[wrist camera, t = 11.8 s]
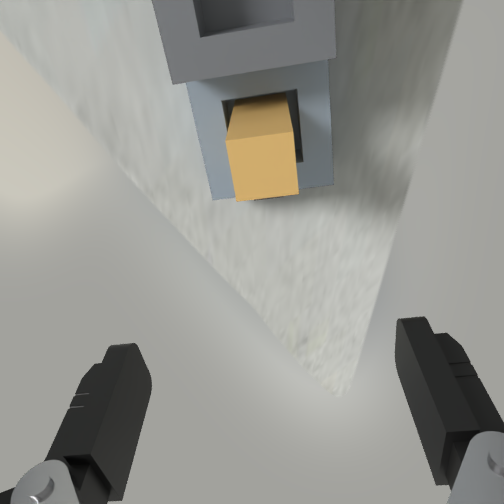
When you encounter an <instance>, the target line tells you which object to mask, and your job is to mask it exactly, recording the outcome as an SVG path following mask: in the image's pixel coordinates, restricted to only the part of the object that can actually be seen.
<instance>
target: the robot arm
mask: <svg viewBox="0 0 504 504" xmlns="http://www.w3.org/2000/svg"><path fill="white" fill-rule="evenodd" d="M395 362H396V368H397V372H398V376H399V378H400V382H401V384H402V387H403V390H404V393H405V396H406V399H407V402H408V405H409V408H410V410H411V414H412V417H413V419H414V422H415V425H416V428H417V431H418V434H419V437H420V440H421V443H422V446H423V449H424V452H425V454H426V457H427V460H428V463H429V466H430V469H431V472H432V475H433V478H434V481H435V484H436V485H449V486H450V489H451V494H450V497H449V499H448V502H447V504H504V422H503V421H502V419H501V417H500V415H499V413H498V411H497V410H496V408H495V406H494V404H493V402H492V401H491V398H490V397H489V395H488V393H487V391H486V389H485V387H484V386H483V384H482V382H481V380H480V378H478V376H477V373H476V371H475V369H474V367H473V366H472V365H471V363H470V360H469V358H468V356H467V354H466V353H465V351H464V349H463V347H462V346H461V345H460V344H459V343H458V342H457V341H456V340H455V339H453V338H452V337H451V336H450V335H449V334H448V333H440V334H434V333H433V331H432V329H431V327H430V324H429V322H428V320H427V319H426V318H425V317H412V318H403V319H398V320H397V326H396V343H395ZM151 390H152V382H151V375H150V373H149V370H148V368H147V366H146V364H145V362H144V359H143V357H142V355H141V352H140V350H139V348H138V346H137V345H136V344H135V343H130V344H120V345H111V346H110V347H109V348H108V350H107V352H106V354H105V356H104V359H103V361H102V363H98V364H94V365H93V366H92V367H91V369H90V370H89V371H88V372H87V373H86V374H85V375H84V377H83V378H82V380H81V382H80V384H79V386H78V389H77V391H76V393H75V394H76V395H75V396H74V397H73V400H72V402H71V404H70V409H68V411H67V413H66V415H65V417H64V419H63V422H62V424H61V426H60V428H59V430H58V433H57V435H56V437H55V439H54V441H53V444H52V446H51V448H50V450H49V452H48V455H47V457H46V459H45V460H44V462H42V463H40V464H38V465H36V466H35V467H33V468H31V469H30V470H29V471H28V472H27V473H26V474H25V475H24V476H23V477H22V478H21V479H20V480H19V482H18V483H17V485H16V487H14V488H12V489H9V490H7V491H4V492H2V493H0V504H107V502H108V501H122V499H123V495H124V492H125V488H126V484H127V481H128V477H129V473H130V469H131V465H132V462H133V458H134V455H135V451H136V447H137V444H138V439H139V436H140V432H141V429H142V425H143V421H144V418H145V414H146V410H147V407H148V403H149V399H150V395H151Z"/></svg>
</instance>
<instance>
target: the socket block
mask: <svg viewBox="0 0 504 504" xmlns="http://www.w3.org/2000/svg"><path fill="white" fill-rule="evenodd" d="M152 3H153V7H154V11H155V15H156V19H157V23H158V27H159V31H160V35H161V39H162V43H163V47H164V51H165V55H166V59H167V63H168V67H169V71H170V75H171V80H172V84H179V83H186V86H187V90H188V94H189V99H190V103H191V107H192V112H193V116H194V120H195V125H196V129H197V133H198V138H199V142H200V147H201V151H202V155H203V160H204V164H205V168H206V173H207V177H208V181H209V186H210V190H211V194H212V199H213V200H219V199H227V198H234V197H236V196H235V191H234V185H233V180H232V174H231V169H230V164H229V158H228V153H227V148H226V142H225V140H226V136H227V132H228V127H229V123H230V119H231V115H232V111H233V107H234V103H235V100H237V99H244V98H250V97H257V96H264V95H271V94H277V93H284V92H286V97H287V103H288V108H289V113H290V118H291V123H292V128H293V135H294V146H295V157H296V168H297V179H298V189H303V188H311V187H319V186H326V185H334V177H333V155H332V134H331V112H330V91H329V70H328V59H333V58H336V33H335V5H334V0H152Z"/></svg>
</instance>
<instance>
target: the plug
mask: <svg viewBox="0 0 504 504" xmlns="http://www.w3.org/2000/svg"><path fill="white" fill-rule="evenodd" d="M225 142H226V148H227V153H228V158H229V164H230V169H231V174H232V180H233V185H234V191H235V196H236V201H237V202H238V201H246V200H262V199H270V198H278V197H283V196H287V195H295V194H299V190H298V179H297V168H296V157H295V146H294V135H293V128H292V123H291V118H290V113H289V108H288V103H287V97H286V92H284V93H277V94H271V95H264V96H257V97H250V98H244V99H237V100H235V103H234V107H233V111H232V115H231V119H230V123H229V127H228V132H227V136H226V140H225Z"/></svg>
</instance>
